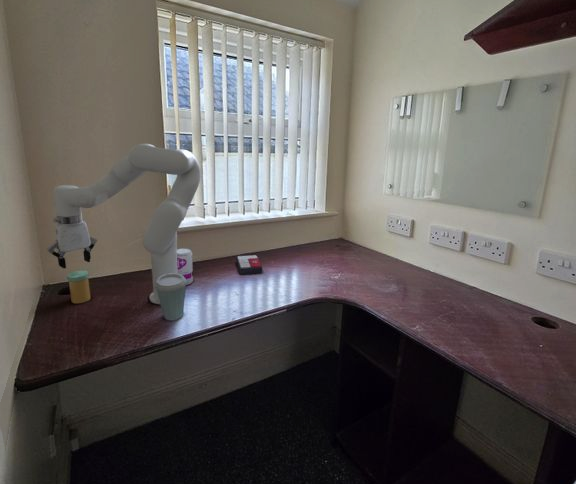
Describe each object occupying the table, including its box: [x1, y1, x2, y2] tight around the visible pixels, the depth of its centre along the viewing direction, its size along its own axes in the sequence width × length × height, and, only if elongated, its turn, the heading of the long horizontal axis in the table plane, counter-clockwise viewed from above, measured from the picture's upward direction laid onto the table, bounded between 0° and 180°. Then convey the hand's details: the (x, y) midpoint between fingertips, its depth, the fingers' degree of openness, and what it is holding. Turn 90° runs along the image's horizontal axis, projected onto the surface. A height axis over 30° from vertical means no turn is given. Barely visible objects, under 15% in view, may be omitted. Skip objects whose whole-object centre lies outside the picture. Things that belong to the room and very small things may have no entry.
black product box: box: [236, 254, 263, 275], centre depth 162 cm, size 11×4×15 cm
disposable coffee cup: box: [155, 273, 187, 321], centre depth 114 cm, size 11×11×15 cm
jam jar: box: [68, 277, 92, 304], centre depth 123 cm, size 6×6×10 cm
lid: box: [66, 270, 90, 282], centre depth 122 cm, size 7×7×2 cm
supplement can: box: [177, 247, 194, 286], centre depth 141 cm, size 8×8×15 cm
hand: (75, 264), depth 120 cm, fingers open, 7 cm apart
